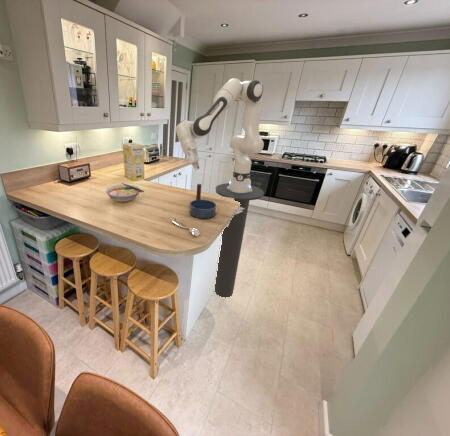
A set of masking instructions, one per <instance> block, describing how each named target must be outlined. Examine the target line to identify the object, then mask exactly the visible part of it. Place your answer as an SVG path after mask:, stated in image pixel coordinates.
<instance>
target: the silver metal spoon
mask: <svg viewBox="0 0 450 436" xmlns="http://www.w3.org/2000/svg"><path fill="white" fill-rule="evenodd" d="M171 222H172V223H173V224H175V226H177V227H180V228H183V229H188V231H189V232H190V233H191V234H192V235H193V236H195V237H199V236H200V233H201V232H200V230H199V229H198V228H197V227H188V226H184V225H183V224H182V223H181V222H180V221H179V219H178V218H176V217H172V218H171Z"/></svg>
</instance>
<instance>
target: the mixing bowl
mask: <svg viewBox="0 0 450 436" xmlns="http://www.w3.org/2000/svg"><path fill="white" fill-rule="evenodd" d="M216 212H217V203H215V202H214V201H213V200H208V199H201V198H200V200H196V199H193V200H191V201H190V202H189V215H191V216H193V217H194V218H198V219H210V218H213V217H215V216H216V214H217V213H216Z"/></svg>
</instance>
